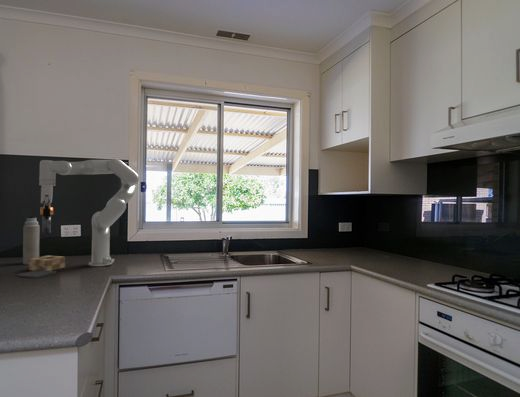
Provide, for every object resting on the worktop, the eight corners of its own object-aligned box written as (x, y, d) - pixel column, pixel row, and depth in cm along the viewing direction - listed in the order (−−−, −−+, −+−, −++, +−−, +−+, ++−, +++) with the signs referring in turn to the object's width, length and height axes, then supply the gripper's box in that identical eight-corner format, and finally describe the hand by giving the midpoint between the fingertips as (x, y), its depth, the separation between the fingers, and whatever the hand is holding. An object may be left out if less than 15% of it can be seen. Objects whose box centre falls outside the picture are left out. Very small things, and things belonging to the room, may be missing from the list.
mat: (56, 273, 179) (56, 271, 179) (36, 278, 167) (36, 276, 167) (37, 271, 182) (37, 269, 182) (16, 276, 170) (16, 274, 170)
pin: (46, 232, 190) (47, 207, 190) (55, 232, 189) (55, 207, 189) (37, 233, 185) (37, 207, 185) (46, 233, 183) (46, 207, 183)
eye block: (64, 267, 193) (65, 256, 193) (46, 271, 181) (47, 260, 181) (47, 265, 196) (47, 255, 196) (28, 270, 184) (28, 259, 184)
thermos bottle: (32, 261, 207) (33, 215, 207) (42, 262, 205) (43, 216, 205) (19, 263, 200) (20, 216, 200) (29, 264, 197) (30, 216, 197)
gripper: (40, 183, 192) (39, 214, 192) (38, 182, 177) (37, 216, 177) (55, 183, 196) (55, 214, 196) (55, 182, 181) (54, 216, 181)
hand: (46, 215), depth 187 cm, fingers closed on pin, 6 cm apart
